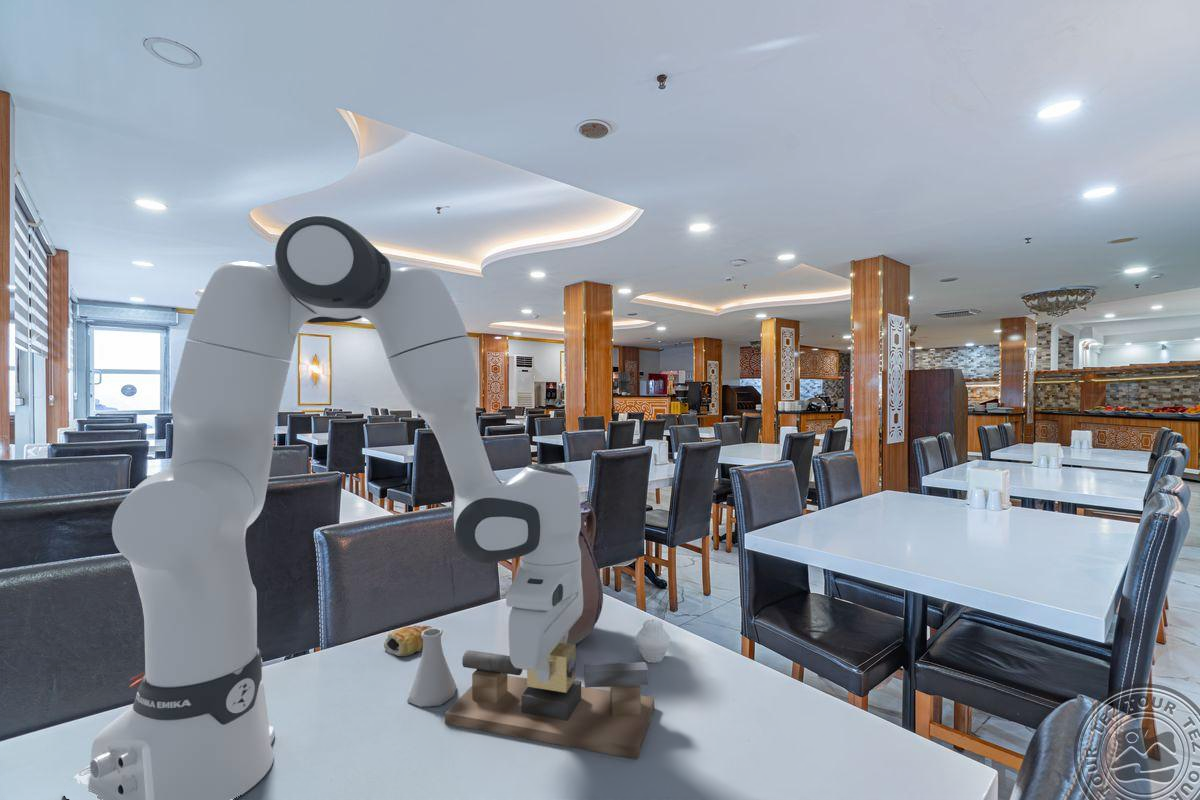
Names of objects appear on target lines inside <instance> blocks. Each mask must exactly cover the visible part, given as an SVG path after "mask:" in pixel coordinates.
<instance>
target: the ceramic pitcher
mask: <svg viewBox="0 0 1200 800" xmlns="http://www.w3.org/2000/svg"><path fill="white" fill-rule="evenodd" d="M580 507H581V528H580V532H579V537H578V542H579V547H580V550H581V578H582V587H583V611H582V615H581V616H580V618H579V619H578V620H577V621H576V622H575V624H574V625H573V626H572V627H571V629H570V630H569V631H568V639H567V643H566V644H573V645H578V644H579V643H580V642H582V641H583V640H584V639H585V638H586V637H588V636H589V634H591V632H592V631H593V630H594V628H595V626H596V624H597V622H598V620H599V618H600V616H601V614H602V610H603V603H604V589H603V585H602V580H601V577H600V572H599V569H598V565H597V562H596V559H595V556H594V553H593V550H594V545H595V539H596V531H597V519H596V518H597V517H596V513H595V510H594V508H593V506H592V504H590V503H589V502H588V501H580ZM519 568H520V559H519V560H518V563H517V567H516V571H515V576H514V578H515V577H516V575H517V572H518V569H519Z"/></svg>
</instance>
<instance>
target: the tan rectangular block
mask: <svg viewBox="0 0 1200 800" xmlns="http://www.w3.org/2000/svg"><path fill="white" fill-rule="evenodd" d="M576 647H577V644H575V645H573V644H565V643H558V645H557V646H556V647H555V648H554V650H553V651H552V652H551V653H550V658H549V659H548V660H549V666H552V676H551V678H550V679H549V681H548V682H547V683H543V682H538V681H537V676H536V670H535V671H532V670H526V678H527V687H533V688H540V689H546V690H552V691H559V692H565V693H567V691H568V690H569V688H570V687H571V685H572V683H573V682H574V680H577V672H576V666H577V663H576V661H577V660H576V657H577V656H576V655H577V654H576V650H577V649H576Z"/></svg>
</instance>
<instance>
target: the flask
mask: <svg viewBox="0 0 1200 800" xmlns="http://www.w3.org/2000/svg"><path fill="white" fill-rule="evenodd" d="M443 632H444V630H443V628H439V627H432V628H428V629H426V630H424V631H423V632H422V634H421V638H423V650H421V657H420V662H419V665H418V668H417V671H416V674H415V677H414V680H413V683H412V687H411V689H410V691H409V695H408V698H407V702H408V703H411V705H416V706H418V707H422V708H423V707H424V708H425V707H434V706H436V707H437V706H441V705H443V704H444V703H446V702H448V701H449V700H451V699H452V698H453V697H455V694H456V690H457V683H456V681H455V679H454V677H453V674H452V672H451V670H450V667H449V665H448V662H447V660H446V658H445V654H444V651H443V645H442V636H443Z"/></svg>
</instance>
